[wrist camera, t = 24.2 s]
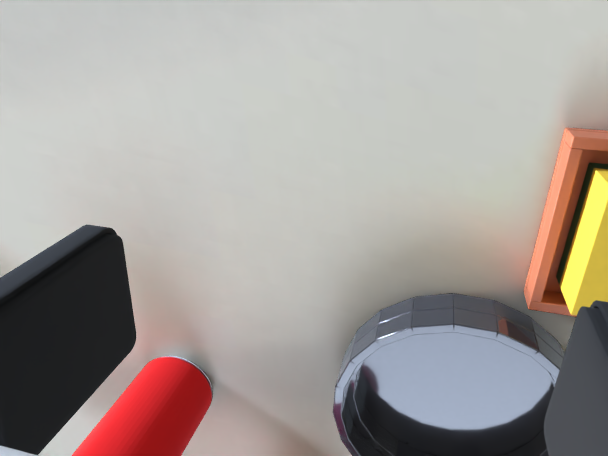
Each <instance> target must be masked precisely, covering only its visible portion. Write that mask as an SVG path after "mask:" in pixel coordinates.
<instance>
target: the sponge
mask: <svg viewBox="0 0 608 456" xmlns="http://www.w3.org/2000/svg"><path fill="white" fill-rule="evenodd" d="M556 278H557V280H558V283H559V286H560V288H561V291H562V293H563V296H564V298H565V301H566V303H567V306H568V309H569V311H570V314H571V315H577V314H578V311H579V309H580V308H581V307H582V306H585V307H590V306H591V304H592V303H593V302H594V301H596V300H598V301H605V302H608V164H601V163H591V162H590V163H589V164H588V168H587V171H586V174H585V178H584V181H583V185H582V188H581V192H580V195H579V199H578V202H577V206H576V209H575V212H574V216H573V219H572V223H571V226H570V230H569V233H568V237H567V240H566V244H565V247H564V250H563V254H562V257H561V261H560V264H559V268H558V271H557V275H556Z"/></svg>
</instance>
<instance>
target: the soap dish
mask: <svg viewBox="0 0 608 456" xmlns="http://www.w3.org/2000/svg"><path fill="white" fill-rule="evenodd" d="M590 162H591V163H601V164H608V131H604V130H591V129H579V128H565V130H564V134H563V138H562V142H561V146H560V150H559V154H558V158H557V162H556V166H555V170H554V173H553V177H552V181H551V185H550V189H549V193H548V197H547V201H546V205H545V209H544V213H543V217H542V221H541V225H540V229H539V233H538V237H537V241H536V245H535V249H534V252H533V256H532V260H531V264H530V268H529V272H528V276H527V280H526V284H525V288H524V294H525V299H526V302H527V306H528V309H530V310H536V311H543V312H549V313H556V314H562V315H568V316H575V317H577V315H571V314H570V311H569V309H568V306H567V303H566V301H565V298H564V296H563V293H562V291H561V288H560V286H559V283H558V280H557V278H556V275H557V271H558V268H559V264H560V261H561V257H562V254H563V250H564V247H565V244H566V240H567V237H568V233H569V230H570V226H571V223H572V219H573V216H574V212H575V209H576V206H577V202H578V199H579V195H580V192H581V188H582V185H583V181H584V178H585V174H586V171H587V168H588V164H589V163H590Z"/></svg>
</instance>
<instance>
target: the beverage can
mask: <svg viewBox="0 0 608 456" xmlns="http://www.w3.org/2000/svg"><path fill="white" fill-rule="evenodd" d="M212 396H213V391H212V386H211V383H210V381H209V379H208V377H207V376H206V374H205V373H204V372H203V371H202V370H201V369H200V368H199V367H198V366H196V365H195V364H194V363H192V362H190V361H188V360H186V359H183V358H180V357H176V356H164V357H160V358H156V359H154V360H152V361H150V362H149V363H148V364H147V365H146V366H145V367H144V368H143V369H142V371H141V372H140V373H139V374H138V375H137V377H136V378H135V379H134V380H133V381H132V383H131V384H130V385H129V386H128V388H127V389H126V390H125V391H124V392H123V394H122V395H121V396H120V397H119V399H118V400H117V401H116V402H115V403H114V405H113V406H112V407H111V408H110V410H109V411H108V412H107V413H106V414H105V416H104V417H103V418H102V419H101V420H100V422H99V423H98V424H97V425H96V427H95V428H94V429H93V430H92V431H91V433H90V434H89V435H88V436H87V438H86V439H85V440H84V441H83V442H82V444H81V445H80V446H79V447H78V449H77V450H76V451H75V452H74V453H73V455H72V456H181V455H182V453H183V451H184V450H185V448H186V446H187V445H188V443H189V441H190V439H191V438H192V436H193V434H194V432H195V431H196V429H197V427H198V426H199V424H200V422H201V420H202V419H203V417H204V415H205V414H206V412H207V410H208V408H209V406H210V404H211V401H212Z"/></svg>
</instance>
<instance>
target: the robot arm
mask: <svg viewBox="0 0 608 456" xmlns="http://www.w3.org/2000/svg"><path fill="white" fill-rule="evenodd" d="M135 341H136V329H135V323H134V316H133V309H132V302H131V295H130V288H129V281H128V274H127V268H126V261H125V254H124V247H123V242H122V239H121V237H119V236H117V234H116V232H115V230H113V229H112V228H107V227H100V226H93V225H85V226H83V227H81V228H79V229H78V230H76V231H75V232H73V233H71V234H70V235H68V236H67V237H65V238H63V239H62V240H60V241H59V242H57V243H55V244H54V245H52V246H51V247H49V248H47V249H46V250H44V251H43V252H41V253H39V254H38V255H36V256H35V257H33V258H31V259H30V260H28V261H27V262H25V263H23V264H22V265H20V266H19V267H17V268H15V269H14V270H12V271H11V272H9V273H7V274H6V275H4V276H3V277H1V278H0V456H38V454H39V453H40V452H41V451H42V450H43V449H44V447H45V446H46V445H47V444H48V443H49V442H50V441H51V440H52V439H53V437H54V436H55V435H56V434H57V433H58V432H59V431H60V430H61V428H62V427H63V426H64V425H65V424H66V423H67V422H68V421H69V420H70V418H71V417H72V416H73V415H74V414H75V413H76V412H77V411H78V410H79V408H80V407H81V406H82V405H83V404H84V403H85V402H86V401H87V400H88V398H89V397H90V396H91V395H92V394H93V393H94V392H95V391H96V389H97V388H98V387H99V386H100V385H101V384H102V383H103V382H104V381H105V379H106V378H107V377H108V376H109V375H110V374H111V373H112V372H113V371H114V369H115V368H116V367H117V366H118V365H119V364H120V363H121V362H122V360H123V359H124V358H125V357H126V356H127V355H128V354H129V353H130V352H131V350H132V349H133V347H134V345H135ZM544 437H545V442H546V446H547V451H548V455H549V456H608V302H605V301H598V300H596V301H594V302H593V303H592V304H591V306H590V307H585V306H582V307H581V308H580V309H579V311H578V314H577V317H576V320H575V323H574V326H573V329H572V332H571V336H570V339H569V342H568V345H567V348H566V352H565V355H564V358H563V361H562V364H561V367H560V371H559V374H558V377H557V380H556V383H555V386H554V390H553V393H552V396H551V399H550V402H549V406H548V409H547V412H546V415H545V420H544Z"/></svg>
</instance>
